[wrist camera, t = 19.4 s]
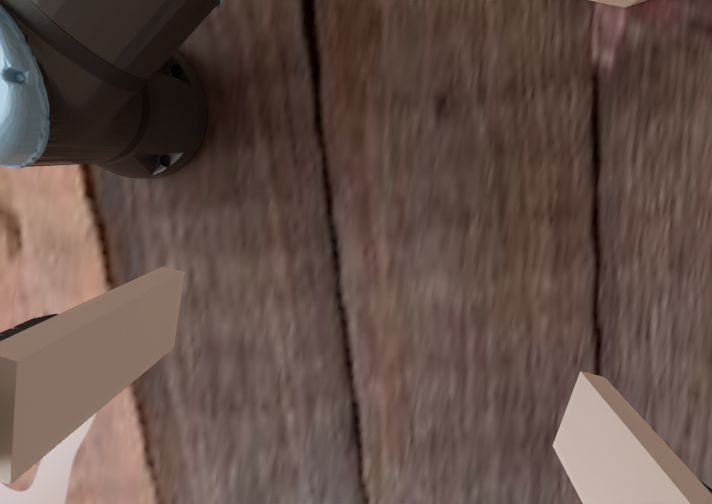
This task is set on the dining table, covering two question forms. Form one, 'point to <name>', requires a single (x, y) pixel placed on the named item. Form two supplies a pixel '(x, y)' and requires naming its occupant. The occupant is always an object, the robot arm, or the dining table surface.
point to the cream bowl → (620, 2)
